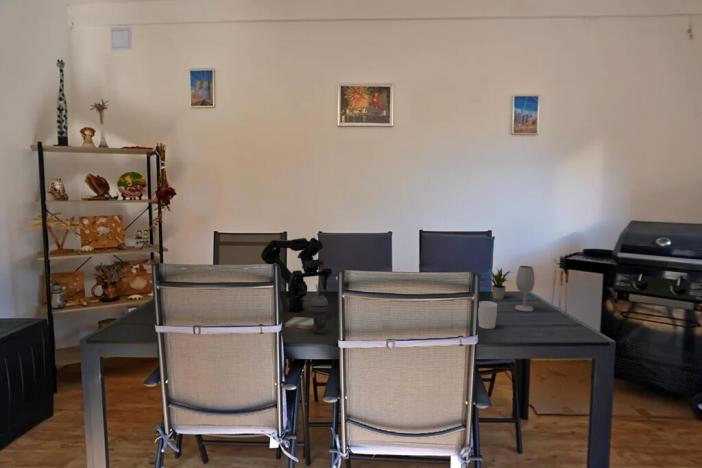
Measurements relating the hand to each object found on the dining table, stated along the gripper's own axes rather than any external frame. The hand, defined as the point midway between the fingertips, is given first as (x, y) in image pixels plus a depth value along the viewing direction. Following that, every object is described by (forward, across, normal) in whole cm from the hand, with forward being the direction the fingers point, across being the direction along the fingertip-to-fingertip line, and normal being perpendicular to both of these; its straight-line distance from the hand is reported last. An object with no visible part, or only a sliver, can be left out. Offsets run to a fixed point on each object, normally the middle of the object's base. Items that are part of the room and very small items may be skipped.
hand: (315, 290), depth 199 cm
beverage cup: (+20, -4, -1) cm, 20 cm away
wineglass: (+29, +96, -14) cm, 101 cm away
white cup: (+37, +62, -22) cm, 76 cm away
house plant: (+16, +100, 0) cm, 101 cm away
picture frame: (+12, -7, +7) cm, 16 cm away
